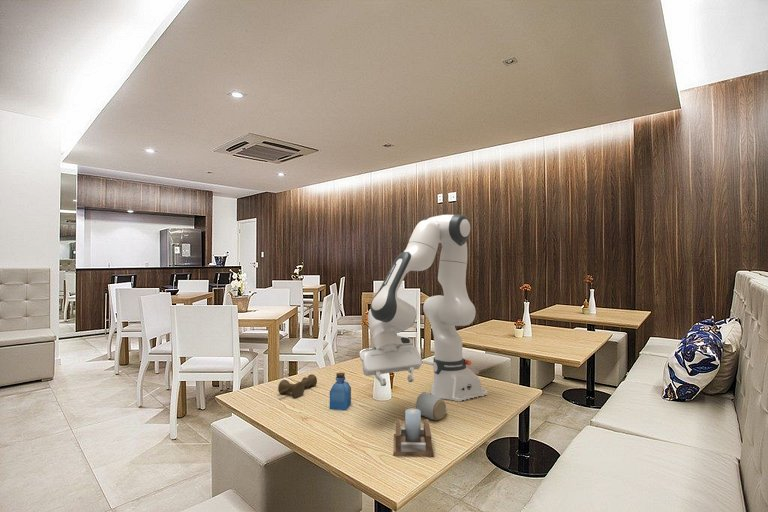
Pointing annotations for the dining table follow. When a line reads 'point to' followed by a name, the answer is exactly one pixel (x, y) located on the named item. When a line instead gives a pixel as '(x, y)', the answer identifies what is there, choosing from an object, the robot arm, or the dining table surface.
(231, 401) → the dining table surface
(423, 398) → the ceramic mug
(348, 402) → the perfume bottle
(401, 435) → the holder
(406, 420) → the paper roll
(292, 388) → the kendama
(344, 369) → the dining table surface
